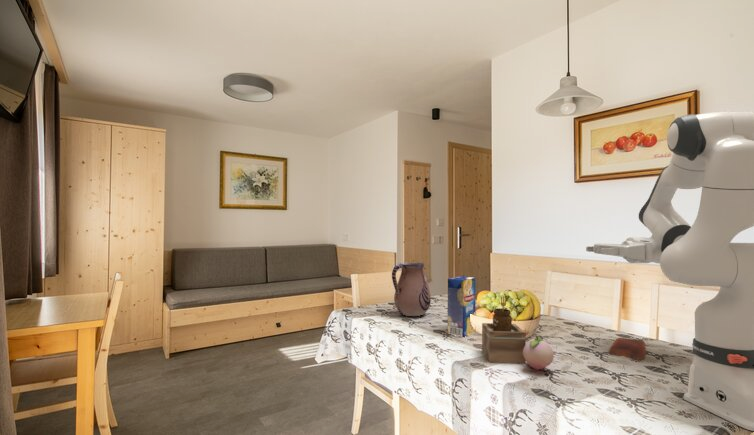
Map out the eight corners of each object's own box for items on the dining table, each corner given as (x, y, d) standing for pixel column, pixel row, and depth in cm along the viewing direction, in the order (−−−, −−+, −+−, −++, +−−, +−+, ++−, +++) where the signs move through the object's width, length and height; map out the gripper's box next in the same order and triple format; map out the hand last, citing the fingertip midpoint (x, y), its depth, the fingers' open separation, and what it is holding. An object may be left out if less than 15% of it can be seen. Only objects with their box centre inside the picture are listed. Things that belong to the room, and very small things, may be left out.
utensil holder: (509, 329, 126) (509, 293, 127) (513, 334, 120) (513, 297, 120) (491, 328, 127) (491, 293, 128) (494, 333, 121) (494, 296, 121)
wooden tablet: (644, 363, 120) (644, 358, 120) (607, 356, 126) (607, 351, 126) (648, 343, 141) (648, 338, 141) (616, 338, 147) (616, 333, 147)
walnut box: (525, 363, 116) (525, 332, 117) (489, 362, 117) (489, 331, 117) (514, 351, 127) (514, 323, 128) (482, 350, 128) (482, 323, 128)
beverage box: (475, 331, 152) (475, 277, 153) (463, 337, 143) (463, 280, 144) (460, 328, 156) (460, 276, 157) (447, 334, 148) (447, 278, 148)
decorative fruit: (552, 378, 105) (552, 342, 105) (521, 372, 109) (521, 338, 109) (554, 367, 113) (554, 334, 113) (526, 362, 117) (525, 330, 117)
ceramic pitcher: (437, 315, 181) (438, 263, 181) (410, 323, 165) (411, 266, 166) (409, 309, 193) (409, 261, 193) (381, 316, 177) (382, 263, 178)
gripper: (617, 240, 139) (579, 239, 140) (655, 242, 118) (609, 241, 119) (618, 257, 138) (579, 256, 139) (655, 262, 118) (610, 261, 119)
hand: (593, 249), depth 129 cm, fingers open, 8 cm apart
